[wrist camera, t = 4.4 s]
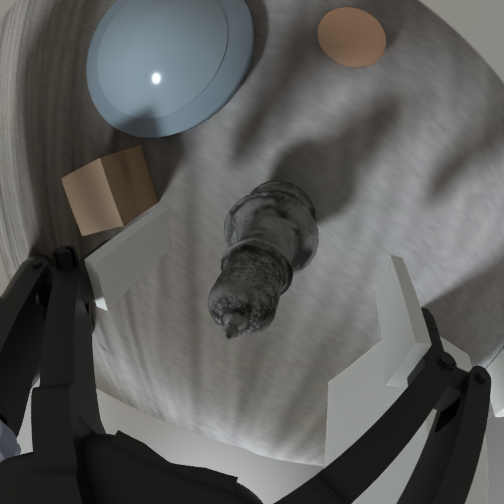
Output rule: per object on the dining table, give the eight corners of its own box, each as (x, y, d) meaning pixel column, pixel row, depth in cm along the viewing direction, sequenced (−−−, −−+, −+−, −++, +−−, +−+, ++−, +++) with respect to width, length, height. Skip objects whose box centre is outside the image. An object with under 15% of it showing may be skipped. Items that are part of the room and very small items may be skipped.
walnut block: (118, 212, 24) (82, 236, 19) (101, 162, 21) (61, 178, 17) (159, 201, 22) (123, 225, 18) (141, 144, 20) (100, 157, 16)
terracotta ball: (315, 65, 14) (313, 53, 11) (320, 14, 12) (319, -9, 9) (376, 78, 14) (390, 70, 10) (381, 27, 12) (394, 8, 8)
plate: (93, 136, 20) (82, 138, 19) (106, -5, 13) (97, -7, 12) (244, 142, 18) (239, 144, 17) (265, -33, 11) (261, -41, 10)
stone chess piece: (237, 175, 19) (141, 260, 9) (322, 180, 18) (319, 281, 8) (240, 249, 22) (173, 368, 12) (316, 256, 21) (300, 393, 11)
